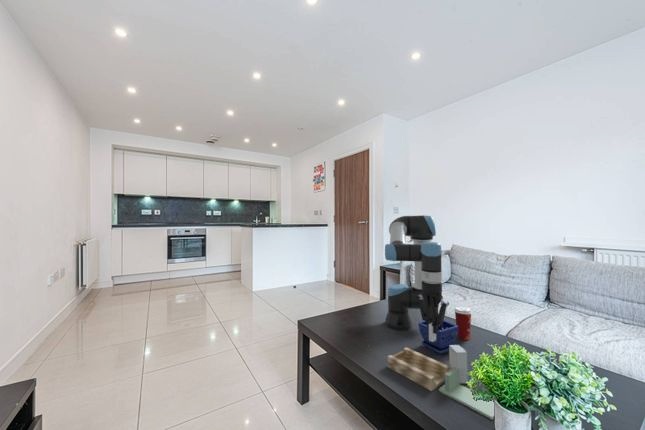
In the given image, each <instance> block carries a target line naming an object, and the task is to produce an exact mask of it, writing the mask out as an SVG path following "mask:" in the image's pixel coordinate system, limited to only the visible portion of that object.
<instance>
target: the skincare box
mask: <svg viewBox="0 0 645 430" xmlns="http://www.w3.org/2000/svg"><path fill="white" fill-rule="evenodd" d="M448 354H449V356H448V357H449V361H448V362H449V366H450V370H451V369H453V368H454V367H455V368H457V369H459V384H460V385H461V384H467V383H466V382H467V381H469V380H468V379H469V378H468V377H469V376H468V352H467V350H466V349H465V348H463V347H462V346H460V344H454V345H449V351H448Z"/></svg>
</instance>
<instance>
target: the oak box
mask: <svg viewBox="0 0 645 430" xmlns="http://www.w3.org/2000/svg"><path fill="white" fill-rule="evenodd" d="M387 367H388V369H390V370H392V371H395V373H398V374H400V375H402V376H404V377H405V378H406V379H409V380H410V381H412V382H415V383H416V384H417V385H419V386H421V387H423V388H425V389H427V390H429V391H430V392H432V391H434V390H435V389H437V388H438V387H440V386H441V385H442V384H443V383H444V384H445V373H447V372H448V371H450V365H447V364H445V363H443V362H440V361H439V360H437V359H434V358H431V357H429V356H427V355H424V354H423V353H421V352H418V351H416V350H414V349H412V348H409V347H404V348H403V350H400V351H399V352H397V353H394V354H393V355H392V354H389V355H387Z"/></svg>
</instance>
